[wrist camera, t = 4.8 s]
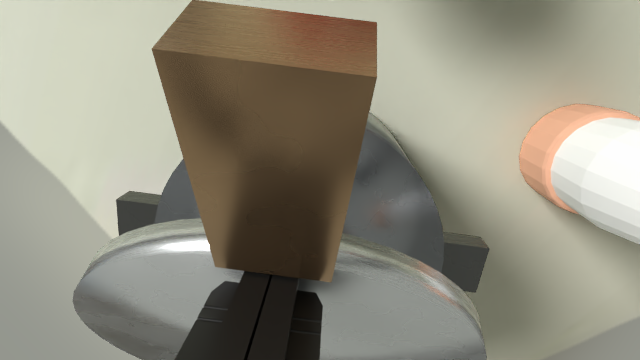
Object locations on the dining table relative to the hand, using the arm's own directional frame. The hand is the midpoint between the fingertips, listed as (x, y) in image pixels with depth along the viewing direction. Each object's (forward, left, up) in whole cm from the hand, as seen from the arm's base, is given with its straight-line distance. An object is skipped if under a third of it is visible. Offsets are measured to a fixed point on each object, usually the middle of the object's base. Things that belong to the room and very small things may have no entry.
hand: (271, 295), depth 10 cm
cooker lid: (0, +3, -3) cm, 4 cm away
